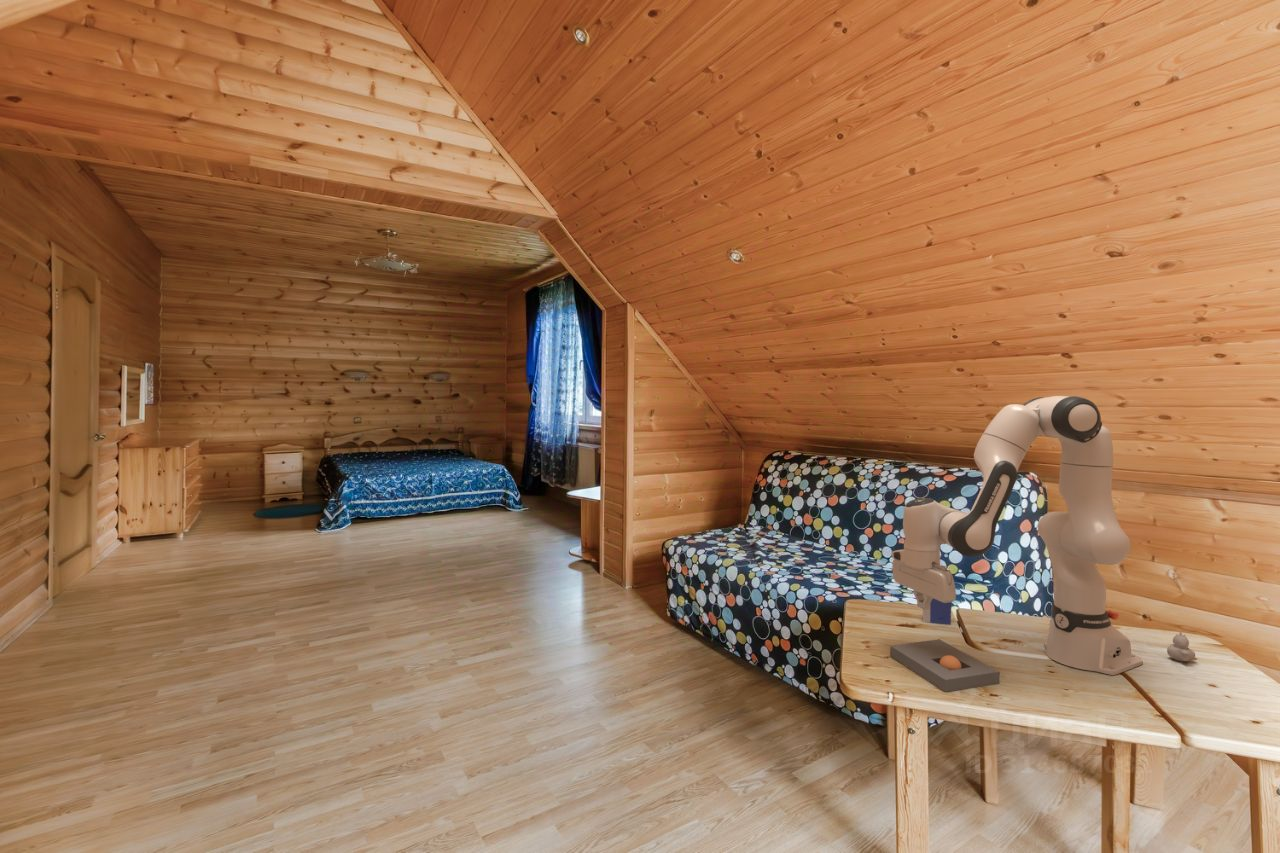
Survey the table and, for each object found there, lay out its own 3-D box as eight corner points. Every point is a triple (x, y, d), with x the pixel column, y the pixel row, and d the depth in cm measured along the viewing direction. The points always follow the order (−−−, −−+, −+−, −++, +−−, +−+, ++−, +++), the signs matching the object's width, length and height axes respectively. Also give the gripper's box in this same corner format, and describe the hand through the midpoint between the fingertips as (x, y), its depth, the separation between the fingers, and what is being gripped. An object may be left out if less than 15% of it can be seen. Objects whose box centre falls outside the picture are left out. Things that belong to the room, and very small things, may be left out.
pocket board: (939, 649, 162) (939, 639, 162) (999, 683, 142) (999, 671, 142) (890, 656, 158) (890, 645, 158) (945, 692, 139) (945, 679, 138)
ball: (968, 675, 144) (954, 677, 148) (963, 654, 146) (949, 656, 151) (951, 675, 143) (937, 677, 147) (946, 654, 145) (932, 656, 149)
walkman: (949, 621, 182) (949, 584, 181) (950, 624, 179) (951, 587, 179) (921, 618, 184) (922, 582, 184) (922, 621, 182) (923, 584, 181)
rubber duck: (1188, 657, 155) (1189, 628, 155) (1200, 668, 149) (1201, 638, 149) (1162, 654, 157) (1163, 625, 157) (1173, 664, 151) (1174, 634, 151)
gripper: (961, 566, 147) (963, 619, 148) (906, 548, 167) (908, 594, 168) (940, 569, 146) (942, 623, 146) (887, 550, 166) (889, 597, 166)
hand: (923, 608), depth 157 cm, fingers closed
